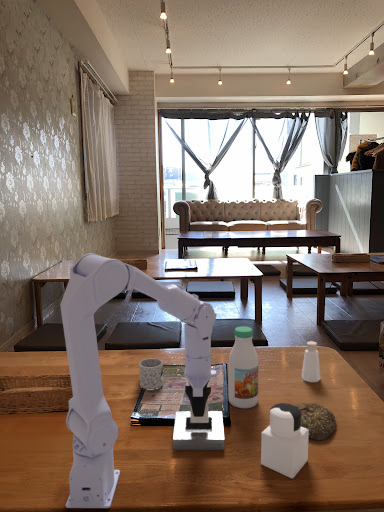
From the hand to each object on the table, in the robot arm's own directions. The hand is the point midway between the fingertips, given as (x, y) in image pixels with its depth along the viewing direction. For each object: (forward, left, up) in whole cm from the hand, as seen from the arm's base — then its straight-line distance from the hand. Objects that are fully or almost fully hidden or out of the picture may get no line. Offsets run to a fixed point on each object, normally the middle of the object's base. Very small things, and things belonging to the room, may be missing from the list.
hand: (198, 410), depth 92 cm
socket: (0, 0, -6) cm, 6 cm away
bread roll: (+5, -26, -7) cm, 27 cm away
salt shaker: (+27, -32, -6) cm, 43 cm away
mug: (+25, +15, -6) cm, 30 cm away
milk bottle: (+14, -11, -6) cm, 20 cm away
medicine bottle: (-10, -17, -6) cm, 21 cm away
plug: (0, 0, -2) cm, 2 cm away
